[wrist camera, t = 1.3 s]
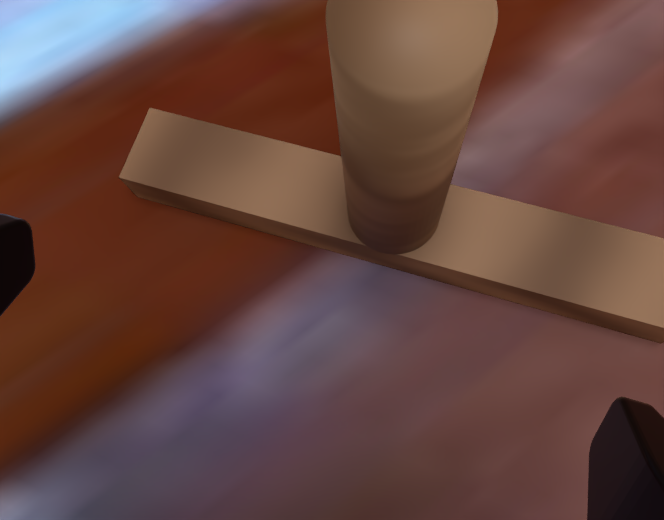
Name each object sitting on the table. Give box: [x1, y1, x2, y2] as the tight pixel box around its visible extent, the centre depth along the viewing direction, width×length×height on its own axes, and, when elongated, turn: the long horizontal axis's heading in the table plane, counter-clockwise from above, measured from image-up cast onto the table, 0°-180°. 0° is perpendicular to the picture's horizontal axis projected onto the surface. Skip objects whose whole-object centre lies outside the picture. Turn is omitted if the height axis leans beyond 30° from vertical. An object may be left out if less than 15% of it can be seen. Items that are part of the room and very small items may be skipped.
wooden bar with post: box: [119, 0, 664, 343], centre depth 17 cm, size 20×3×12 cm, turn 73°
